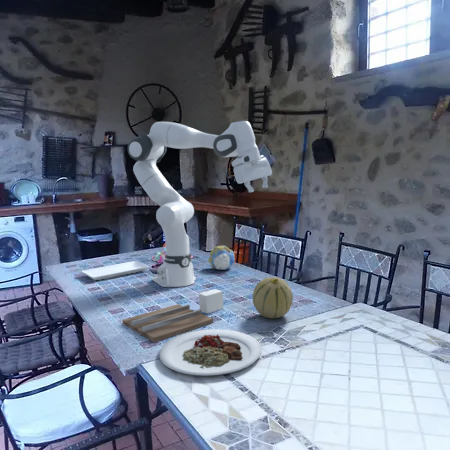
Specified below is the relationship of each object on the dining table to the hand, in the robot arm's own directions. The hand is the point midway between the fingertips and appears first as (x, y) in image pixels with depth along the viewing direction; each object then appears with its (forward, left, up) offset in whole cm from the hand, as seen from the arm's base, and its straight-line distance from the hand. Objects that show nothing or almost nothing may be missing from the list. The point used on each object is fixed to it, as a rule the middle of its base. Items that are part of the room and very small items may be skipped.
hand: (258, 189), depth 177 cm
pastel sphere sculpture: (-83, +7, -45) cm, 95 cm away
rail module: (+3, -30, -44) cm, 53 cm away
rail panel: (+3, -50, -44) cm, 67 cm away
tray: (-76, -32, -45) cm, 94 cm away
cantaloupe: (+25, -19, -45) cm, 54 cm away
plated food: (+33, -54, -45) cm, 77 cm away
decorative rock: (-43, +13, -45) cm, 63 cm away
